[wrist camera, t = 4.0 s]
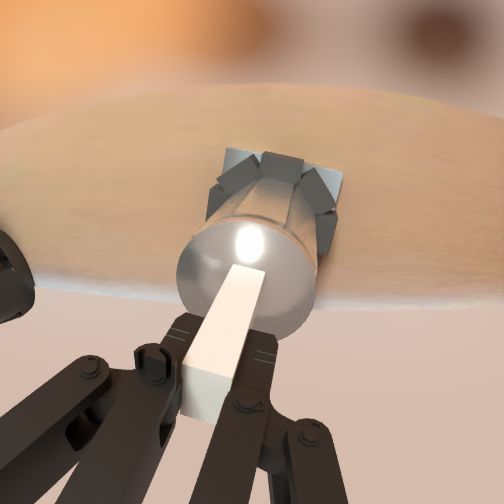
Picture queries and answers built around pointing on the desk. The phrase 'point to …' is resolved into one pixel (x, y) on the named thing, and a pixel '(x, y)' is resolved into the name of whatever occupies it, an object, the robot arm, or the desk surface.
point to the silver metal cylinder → (256, 254)
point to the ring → (286, 172)
